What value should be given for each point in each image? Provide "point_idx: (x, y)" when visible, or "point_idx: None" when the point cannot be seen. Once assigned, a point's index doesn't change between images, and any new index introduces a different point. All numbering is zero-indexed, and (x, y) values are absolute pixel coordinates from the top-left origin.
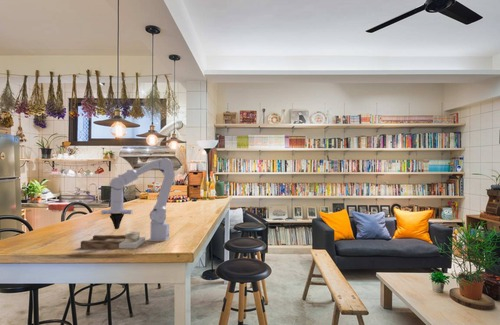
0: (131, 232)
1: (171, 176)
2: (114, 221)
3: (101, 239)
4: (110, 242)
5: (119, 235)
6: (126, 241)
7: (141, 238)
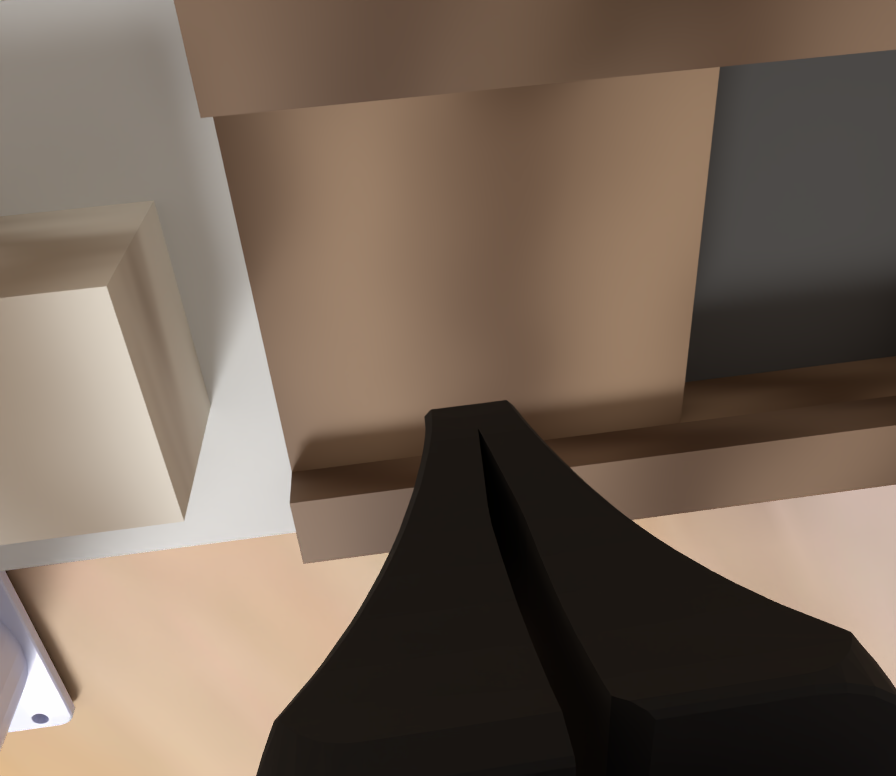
0: (54, 445)
1: None
2: (555, 537)
3: (806, 394)
4: None
5: None
6: (125, 208)
7: None
